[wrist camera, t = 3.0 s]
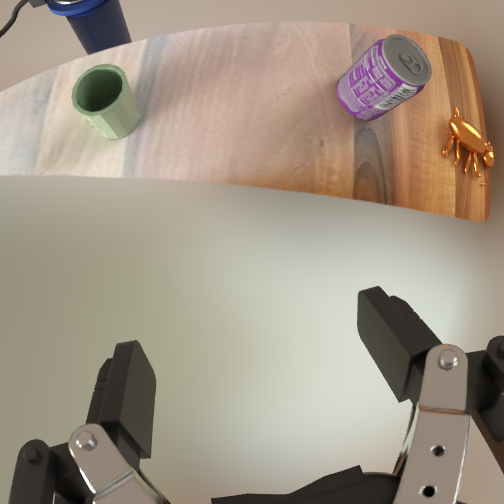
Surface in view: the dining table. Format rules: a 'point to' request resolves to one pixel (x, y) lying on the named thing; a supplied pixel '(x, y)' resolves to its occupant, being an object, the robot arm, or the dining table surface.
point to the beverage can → (384, 77)
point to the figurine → (468, 143)
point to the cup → (107, 101)
